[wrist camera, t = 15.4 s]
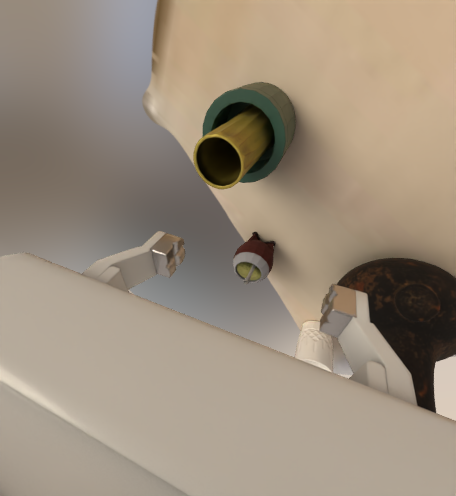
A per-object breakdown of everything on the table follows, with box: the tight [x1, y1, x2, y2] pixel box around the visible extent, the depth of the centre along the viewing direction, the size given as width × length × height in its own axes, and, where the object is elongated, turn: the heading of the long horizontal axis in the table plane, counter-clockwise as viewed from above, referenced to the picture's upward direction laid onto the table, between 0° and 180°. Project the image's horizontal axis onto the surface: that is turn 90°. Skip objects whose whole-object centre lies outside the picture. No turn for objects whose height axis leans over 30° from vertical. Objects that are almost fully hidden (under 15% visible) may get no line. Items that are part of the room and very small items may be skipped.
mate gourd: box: [233, 232, 276, 284], centre depth 40 cm, size 8×8×15 cm
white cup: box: [294, 321, 333, 373], centre depth 51 cm, size 8×8×10 cm
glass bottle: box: [337, 258, 456, 413], centre depth 30 cm, size 18×18×28 cm
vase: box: [193, 104, 275, 189], centre depth 27 cm, size 6×6×14 cm
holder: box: [203, 82, 296, 183], centre depth 30 cm, size 10×10×8 cm
